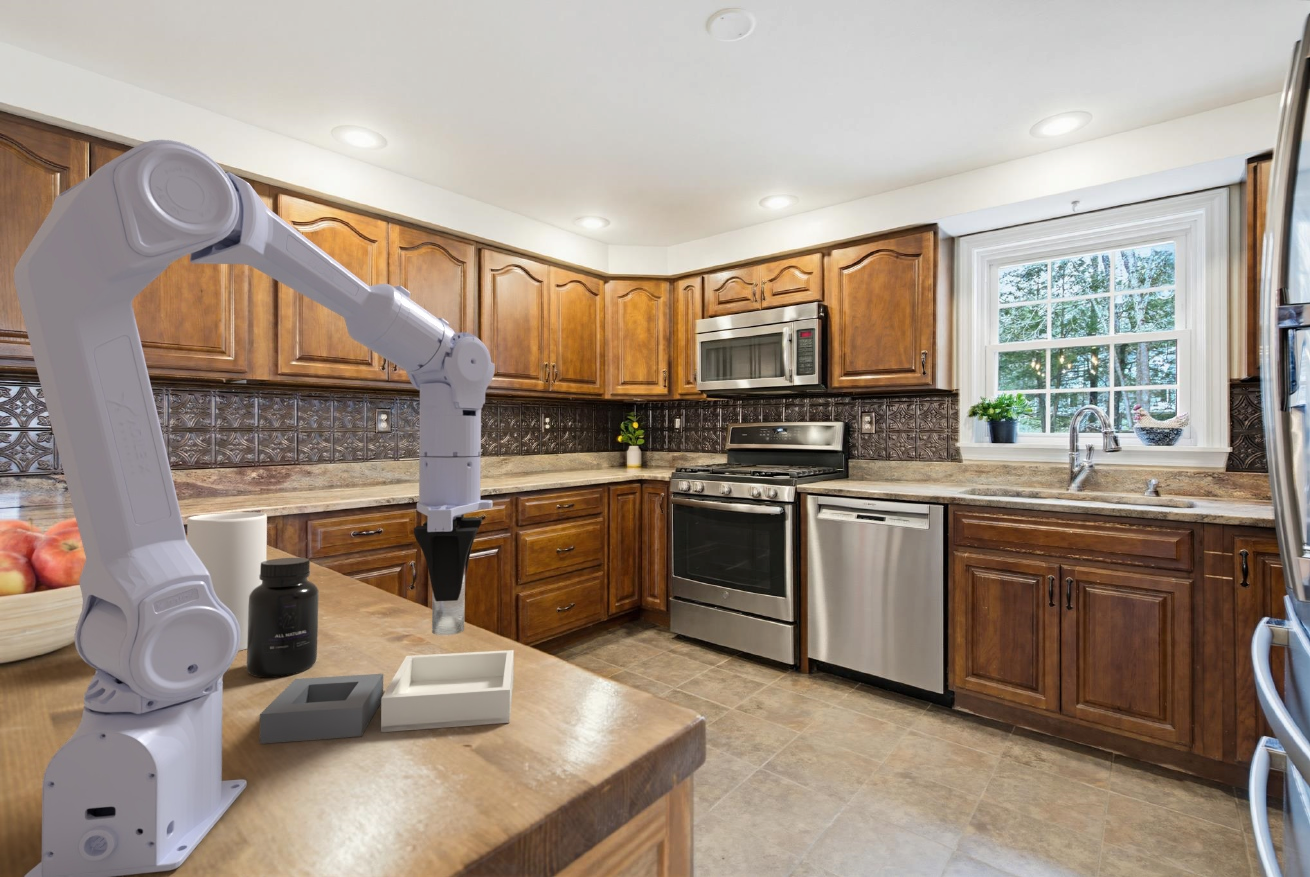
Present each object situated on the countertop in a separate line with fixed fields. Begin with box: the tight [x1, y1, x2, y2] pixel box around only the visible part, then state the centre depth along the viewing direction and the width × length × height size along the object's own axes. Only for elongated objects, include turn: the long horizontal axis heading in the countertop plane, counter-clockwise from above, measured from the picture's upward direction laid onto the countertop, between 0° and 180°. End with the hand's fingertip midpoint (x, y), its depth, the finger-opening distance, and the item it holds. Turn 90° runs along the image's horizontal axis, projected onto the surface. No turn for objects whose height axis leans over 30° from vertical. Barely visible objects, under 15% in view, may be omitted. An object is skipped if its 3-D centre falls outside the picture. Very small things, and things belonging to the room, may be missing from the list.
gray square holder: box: [259, 673, 384, 745], centre depth 58 cm, size 8×8×2 cm
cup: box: [186, 511, 268, 652], centre depth 79 cm, size 8×8×16 cm
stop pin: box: [431, 569, 466, 636], centre depth 62 cm, size 3×3×7 cm
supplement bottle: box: [246, 557, 319, 678], centre depth 71 cm, size 7×7×12 cm
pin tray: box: [380, 649, 515, 733], centre depth 62 cm, size 11×11×3 cm
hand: (449, 595), depth 62 cm, fingers closed on stop pin, 3 cm apart
